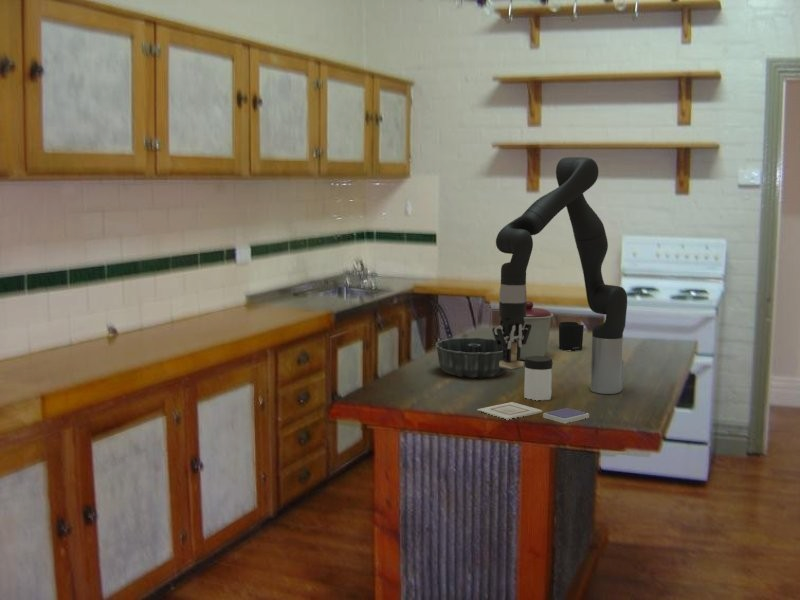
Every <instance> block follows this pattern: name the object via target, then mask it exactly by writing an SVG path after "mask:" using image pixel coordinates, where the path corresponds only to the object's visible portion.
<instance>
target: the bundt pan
mask: <svg viewBox="0 0 800 600" xmlns="http://www.w3.org/2000/svg"><path fill="white" fill-rule="evenodd" d="M500 342H501V341H500ZM506 344H507V341H506ZM435 348H436V349H437V357H438V363H439V367H440V368H441V370H442V371H444V373H447V374H449V375H451V376H457V377H458V378H464V377H466V378H469V379H474V378H476V377H477V378H479V379H482V378H484V377H486V378H492V377H498V376H500V375H501V376H502V374H503V373H504V372H505V371H506V370H507V369H504V368H500V367H499V361H503V348H502V347H499V346H497V343H496V340H495V338H486V337H464V336H463V337H459V338H458V337H456V338H455V337H453V338H447V339H442V340H440V341H437V342H436V343H435Z"/></svg>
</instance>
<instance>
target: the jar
mask: <svg viewBox="0 0 800 600" xmlns="http://www.w3.org/2000/svg"><path fill="white" fill-rule="evenodd" d="M524 361H525V362H524V366H525V367H524V385H523V386H524V390H523V392H524V394H523V398H524V399H525V398H527V399H526V400H530V399H532V400H531V401H535V400H536V401H537V402H538V400H541V401H550V400H551V399H552V388H553V387H552V386H553V385H552V383H553V364H554V363H553V358H552V357H549V356H530V357H526V358H525V360H524Z"/></svg>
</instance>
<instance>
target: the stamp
mask: <svg viewBox="0 0 800 600" xmlns="http://www.w3.org/2000/svg"><path fill="white" fill-rule="evenodd" d="M510 349H511V361H510V362H505V361H504V360H503V361H499V367H500V368H504V369H506V370H509V371H515V370H519V369H524V366H525V362H524V361H523V360H518V361H517V342H511V348H510Z"/></svg>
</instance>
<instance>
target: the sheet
mask: <svg viewBox="0 0 800 600" xmlns="http://www.w3.org/2000/svg"><path fill="white" fill-rule="evenodd" d="M477 410H478V411H482V412H484V413H487V414H486V415H488V414H490V415H489V416H491V415H493V416H492V417H494V416H497V417H496V418H498V417H500V418H499V419H501V418H504V419H506V420H505V421H510V420H513V419H512V418H515V419H518V418H517V417H519V418H523V416H524V417H528V416H531V415H537V414H541V413H542V414H543V409H539V408H536V407H531V406H528V405H524V404H520V403H516V402H514V401H510V402H506V403H501V404H495V405H491V406H486V407H481V408H477V409H476V411H477ZM478 411H477V412H478ZM484 413H483V414H484ZM504 419H503V420H504ZM509 419H510V420H509Z"/></svg>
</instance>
